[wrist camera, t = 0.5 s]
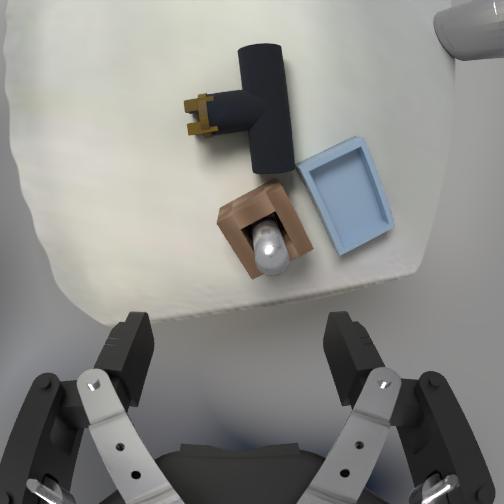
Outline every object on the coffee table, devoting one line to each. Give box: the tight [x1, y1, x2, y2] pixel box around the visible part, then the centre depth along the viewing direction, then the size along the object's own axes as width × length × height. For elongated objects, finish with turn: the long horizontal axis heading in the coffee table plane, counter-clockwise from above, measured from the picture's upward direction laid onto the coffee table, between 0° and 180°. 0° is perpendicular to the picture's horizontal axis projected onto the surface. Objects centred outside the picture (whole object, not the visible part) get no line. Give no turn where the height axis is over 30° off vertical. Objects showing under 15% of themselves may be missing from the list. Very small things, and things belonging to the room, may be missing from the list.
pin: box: [251, 213, 289, 276], centre depth 32 cm, size 3×3×12 cm
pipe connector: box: [184, 43, 295, 174], centre depth 29 cm, size 12×5×15 cm
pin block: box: [217, 178, 313, 279], centre depth 35 cm, size 8×8×6 cm
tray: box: [295, 137, 395, 256], centre depth 35 cm, size 9×13×3 cm
